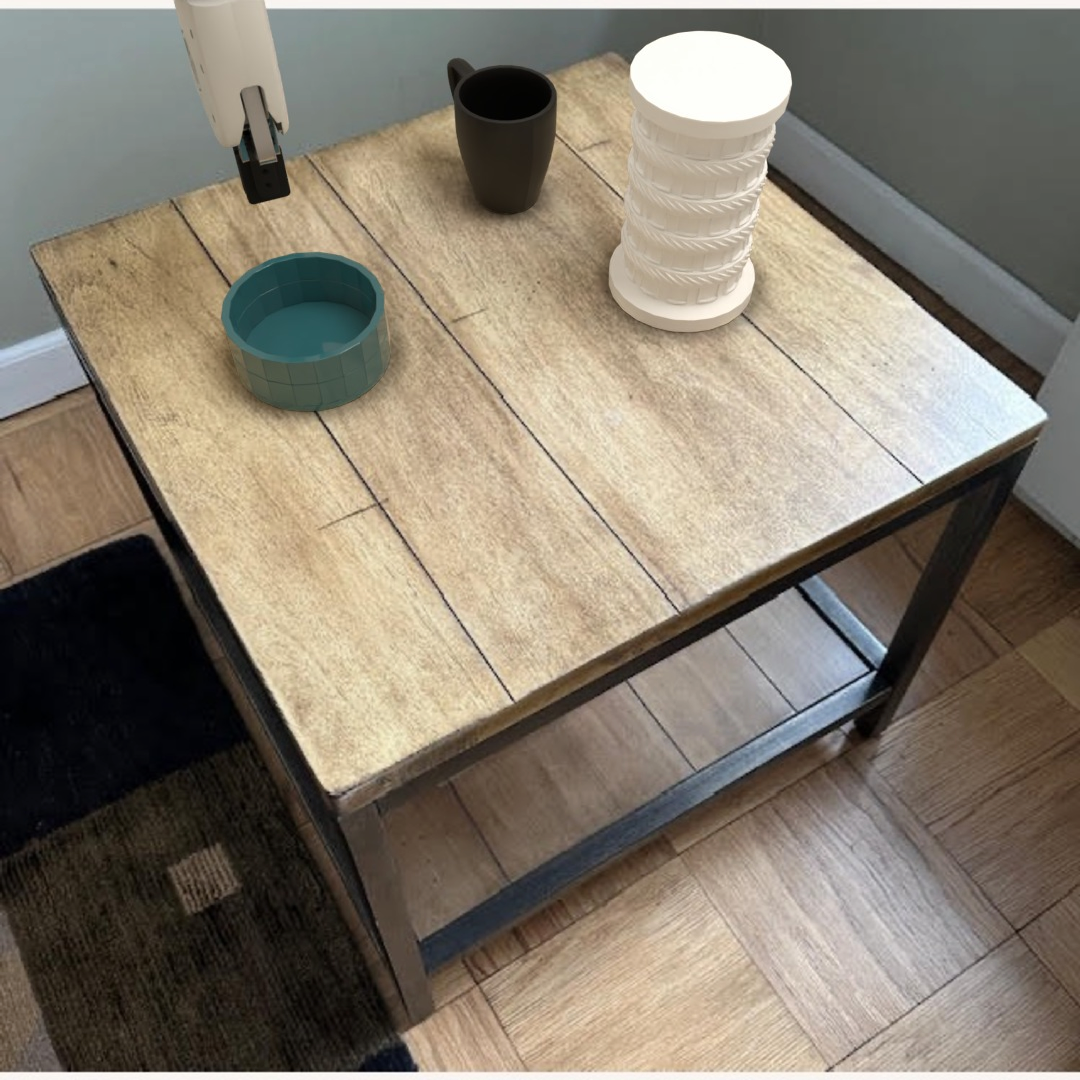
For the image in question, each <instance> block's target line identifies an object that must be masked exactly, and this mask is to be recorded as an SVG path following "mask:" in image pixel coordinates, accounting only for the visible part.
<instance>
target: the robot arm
mask: <svg viewBox="0 0 1080 1080" xmlns="http://www.w3.org/2000/svg"><path fill="white" fill-rule="evenodd" d="M173 4H174V8H175V12H176V16H177V19H178V23H179V27H180V30H181V31H180V32H181V35H182V38H183V42H184V45H185V50H186V53H187V57H188V62H189V66H190V70H191V74H192V78H193V82H194V85H195V88H196V91H197V93H198V96H199V98H200V102H201V104H202V107H203V110H204V112H205V114H206V117H207V120H208V121H209V124H210V126H211V129H212V131H213V134H214V136H215V138H216V141H217V143H218V144H220V145H221V146H222V147H224V148H226V149H231V147H232V151H233V156H234V159H235V162H236V167H237V170H238V174H239V178H240V183H241V185H242V189H243V191H244V194H245V196H246V199H247V201H248V203H249V204H250V205H258V204H263V203H267V202H271V201H275V200H279V199H283V198H286V197H288V196H290V195H291V192H292V191H291V186H290V182H289V178H288V172H287V168H286V163H285V159H284V155H283V151H282V147H281V145H280V143H279V138H278V134H277V133H280V134H281V135H282V136H285V135H286V133H287V132H288V131H289V129H290V121H289V120H290V119H289V114H288V107H287V101H286V97H285V92H284V86H283V81H282V76H281V71H280V66H279V65H280V64H279V61H278V56H277V52H276V46H275V42H274V38H273V33H272V28H271V24H270V17H269V15H268V11H267V7H266V1H265V0H173Z"/></svg>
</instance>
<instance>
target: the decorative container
mask: <svg viewBox="0 0 1080 1080" xmlns="http://www.w3.org/2000/svg"><path fill="white" fill-rule="evenodd" d="M792 86H793V81H792V74H791V70H790V69H789V67H788V66H787V64H786V62H785V60H784V59H782V58H781V57H780V55H778V54H777V53H775V51H774V50H772V49H771V48H770V47H767V46H765V45H764V44H762V43H760V42H758V41H756V40H753V39H750V38H747V37H745V36H741V35H739V34H733V33H727V32H723V31H713V30H712V31H709V30H693V31H683V32H675V33H673V34H669V35H667V36H662V37H660V38H657V39H656V40H653V41H651V42H650V43H647V44H645V46H643V48H642V49H641V50H639V51H638V52H637V53H636V54H635V56H634V58H633V60H632V62H631V63H630V68H629V77H628V96H629V98H630V100H631V102H632V105H633V107H634V110H633V111H632V115H631V117H630V122H629V123H630V124H629V125H630V134H631V141H632V143H633V144H632V146H631V148H630V150H629V153H628V156H627V161H626V171H627V177H628V181H629V183H628V185H627V187H626V189H625V192H624V196H623V209H624V212H625V213H624V215H625V217H626V218H625V219H624V222H623V224H622V227H621V231H620V243H619V244H617V246H616V247H615V248H614V250H613V253H612V255H611V258H610V259H609V266H608V267H609V269H608V287H609V290H610V292H611V295H612V298H613V299H614V301H615V302H616V303H617V304H618V305H619V307H620V308H621V309H622V310H623V311H624V312H625V313H626V314H628V315H629V316H631V318H633V319H635V320H636V321H639V322H640V323H643V324H645V325H648V326H650V327H651V328H656V329H660V330H664V331H668V332H671V333H672V332H674V333H696V332H704V331H710V330H713V329H716V328H719V327H721V326H724V325H727V324H728V323H730V322H732V321H734V319H736V318H738V317H739V316H740V315H741V314H742V313H743V312H744V310H745V309H746V308H747V306H748V305H749V304H750V300H751V297H752V294H753V292H754V286H755V282H756V274H755V266H754V264H753V262H752V260H751V258H750V257H751V252H752V251H753V248H752V246H753V245H754V241H753V239H754V237H753V231H754V229H755V227H756V224H757V223H758V218H760V214H759V212H760V211H761V207H760V206H761V203H760V196H761V194H762V192H763V188H764V187H765V186H766V183H765V182H766V181H767V180H768V177H767V175H768V173H769V171H768V160H767V158H768V157H769V156H770V153H771V150H772V148H773V147H774V144H773V143H774V142H775V141H776V138H775V135H776V134H777V131H776V129H777V127H776V126H777V125H776V122H777V121H779V119H780V118H781V117H782V116H783V115H784V114H785V112H786V109H787V106H788V104H789V100H790V96H791V90H792Z"/></svg>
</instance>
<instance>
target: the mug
mask: <svg viewBox="0 0 1080 1080" xmlns="http://www.w3.org/2000/svg"><path fill="white" fill-rule="evenodd" d="M446 65H447V66H446V71H447V73H446V74H447V79H448V85H449V88H450V93H451V97H452V101H453V108H454V109H453V110H454V126H455V134H456V135H455V136H456V140H457V146H458V149H459V153H460V157H461V161H462V165H463V166H464V169H465V173H466V175H467V178H468V180H469V181H468V182H469V183H470V186H471V188H472V191H473V194H474V197H475V200H476V201H477V203H478V204H479V205H480V206H481V207H483V208H484V209H485V210H487V211H489V212H493V213H496V214H503V215H504V214H507V215H508V214H517V213H521V212H524V211H527V210H528V209H530V208H532V207H533V206H534V205H535V204H536V203H537V201H538V199H539V197H540V193H541V190H542V187H543V184H544V182H545V178H546V175H547V173H548V170H549V166H550V164H551V163H550V162H551V159H552V155H553V152H554V147H555V140H556V135H557V111H558V93H557V89H556V87H555V85H554V83H553V82H552V81H551V79H550V78H549V77H548V76H546V75H545V74H543V73H542V72H539V71H537V70H535V69H532V68H530V67H526V66H521V65H513V64H498V65H490V66H486V67H481V68H478V69H475V68H474V67H473V66H472V64H470V63H469V62H468V61H467V60H465V59H464V58H461V57H454V58H452V59H450V60H449V61H448V62H447V64H446Z"/></svg>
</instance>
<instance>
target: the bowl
mask: <svg viewBox="0 0 1080 1080" xmlns="http://www.w3.org/2000/svg"><path fill="white" fill-rule="evenodd" d="M387 310H388V309H387V303H386V296H385V291H384V289H383V287H382V285H381V283H380V281H379V279H378V278H377V276H376V275H375V274H374V273H372V272H371V271H370V270H369V269H368V268H367V267H366V266H365V265H363V264H362V263H361V262H357V261H355V260H353V259H351V258H349V257H346V256H345V255H341V254H336V253H330V252H324V251H308V252H307V251H305V252H293V253H288V254H285V255H280V256H277V257H272V258H270V259H268V260H266V261H263V262H261V263H259V264H258V265H255V266H253V267H251V268H250V269H248V270H247V271H246V272H244V273H243V274H242V275H241V276H240V277H239V278H238V279H236V280H235V281H234V282H233V283H232V285H231V286H230V288H229V290H228V291H227V292H226V294H225V296H224V298H223V300H222V305H221V314H220V320H221V324H222V327H223V331H224V334H225V337H226V341H227V344H228V347H229V350H230V353H231V356H232V361H233V364H234V366H235V369H236V372H237V375H238V377H239V380H240V382H241V383H242V385H243V386H244V388H245V389H246V390H247V391H248V392H249V393H250V394H251V395H253V396H254V397H255V398H256V399H257V400H259V401H261V402H263V403H264V404H267V405H270V406H271V407H275V408H278V409H282V410H287V411H292V412H319V411H325V410H330V409H334V408H337V407H340V406H344V405H346V404H348V403H352V402H353V401H355V400H357V399H359V398H361V397H362V396H363V395H365V394H366V393H368V392H369V391H370V390H371V389H373V388H374V387H375V386H376V385H377V384H378V382H379V381H380V380H381V379H382V377H383V376H384V374H385V373H386V372H387V369H388V367H389V364H390V360H391V357H392V356H391V355H392V346H391V333H390V331H391V330H390V326H389V325H390V324H389V317H388V311H387Z"/></svg>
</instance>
